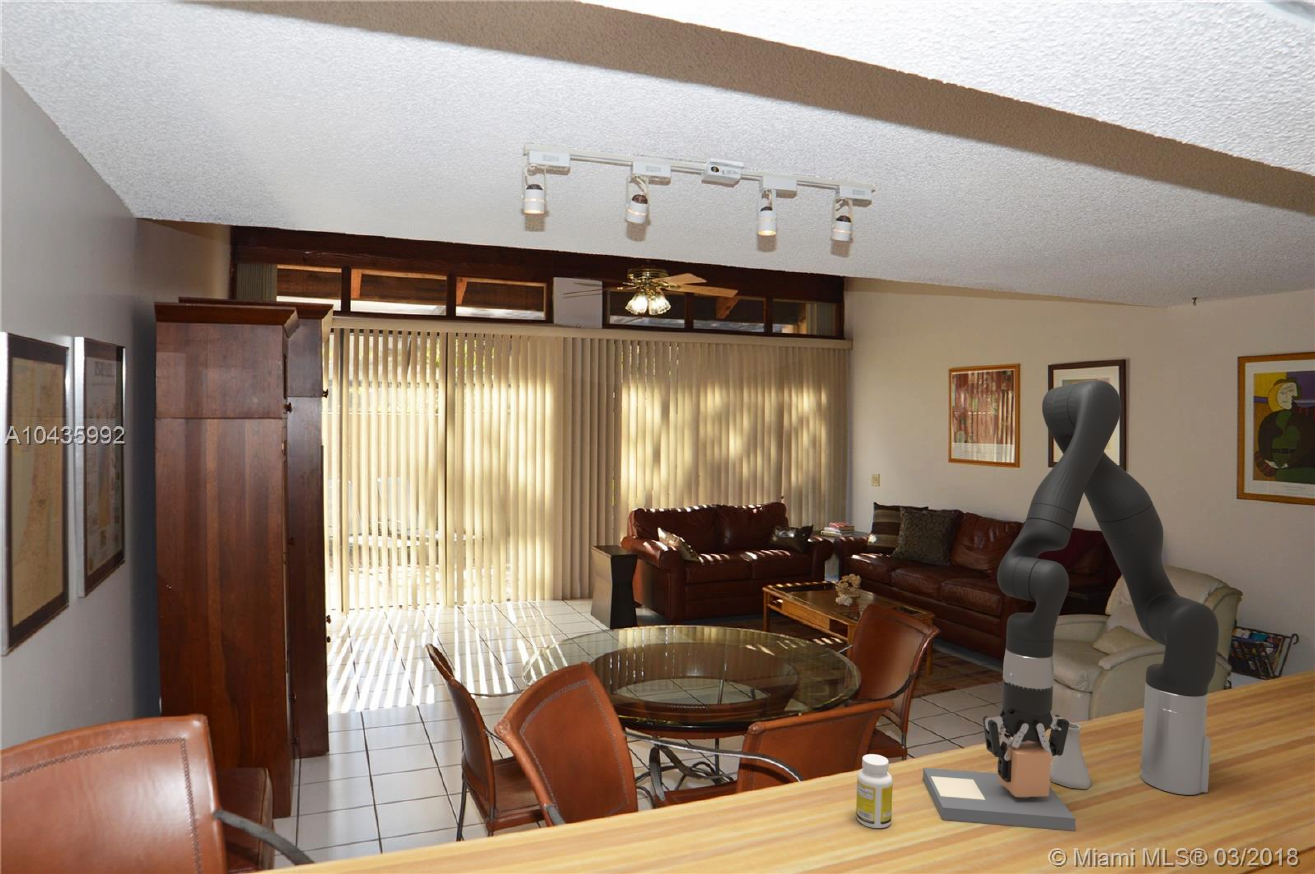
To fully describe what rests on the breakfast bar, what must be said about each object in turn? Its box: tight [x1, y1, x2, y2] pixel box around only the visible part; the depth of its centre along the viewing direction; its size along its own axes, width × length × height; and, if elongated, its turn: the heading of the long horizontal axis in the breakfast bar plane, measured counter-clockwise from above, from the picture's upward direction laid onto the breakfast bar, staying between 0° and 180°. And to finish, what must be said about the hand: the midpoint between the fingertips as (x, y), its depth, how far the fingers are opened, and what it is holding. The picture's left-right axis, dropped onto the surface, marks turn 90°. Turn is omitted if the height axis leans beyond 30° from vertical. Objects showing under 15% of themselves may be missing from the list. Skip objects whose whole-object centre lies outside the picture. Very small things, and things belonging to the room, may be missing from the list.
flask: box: [1050, 721, 1093, 790], centre depth 141 cm, size 7×7×10 cm
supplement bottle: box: [855, 753, 893, 829], centre depth 125 cm, size 5×5×10 cm
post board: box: [922, 767, 1076, 832], centre depth 132 cm, size 20×14×9 cm
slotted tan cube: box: [998, 738, 1052, 797], centre depth 131 cm, size 6×6×7 cm
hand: (1023, 779), depth 131 cm, fingers closed on slotted tan cube, 5 cm apart
